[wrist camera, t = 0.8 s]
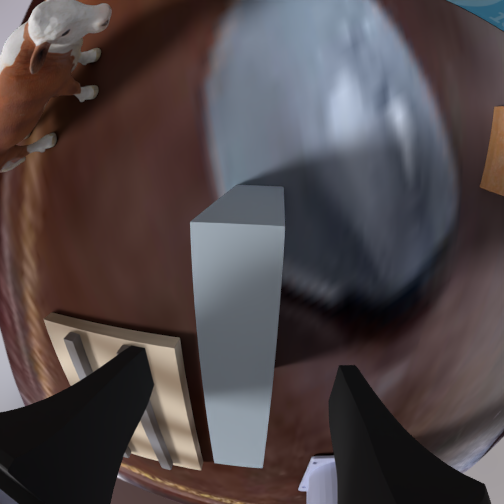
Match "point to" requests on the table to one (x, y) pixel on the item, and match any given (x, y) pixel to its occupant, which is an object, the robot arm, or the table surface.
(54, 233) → the table surface
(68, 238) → the table surface
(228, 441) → the grey rectangular block
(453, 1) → the data package
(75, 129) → the table surface
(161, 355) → the track board
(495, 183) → the arch
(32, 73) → the bull figurine
